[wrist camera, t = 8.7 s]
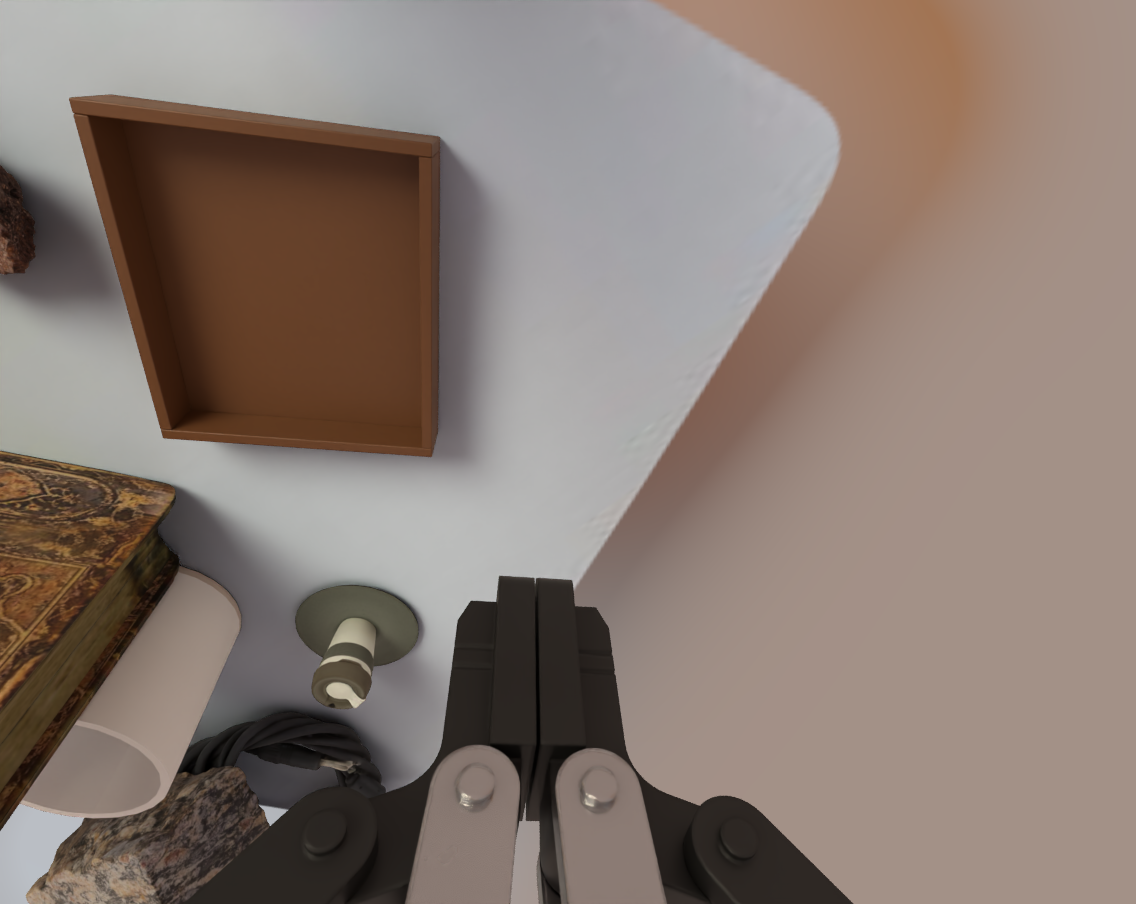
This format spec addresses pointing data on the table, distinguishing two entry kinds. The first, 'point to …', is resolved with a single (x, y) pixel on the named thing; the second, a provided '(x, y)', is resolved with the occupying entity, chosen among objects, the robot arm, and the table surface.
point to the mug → (144, 708)
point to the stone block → (157, 845)
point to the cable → (290, 749)
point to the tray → (274, 272)
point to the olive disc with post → (353, 639)
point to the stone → (14, 227)
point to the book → (68, 598)
